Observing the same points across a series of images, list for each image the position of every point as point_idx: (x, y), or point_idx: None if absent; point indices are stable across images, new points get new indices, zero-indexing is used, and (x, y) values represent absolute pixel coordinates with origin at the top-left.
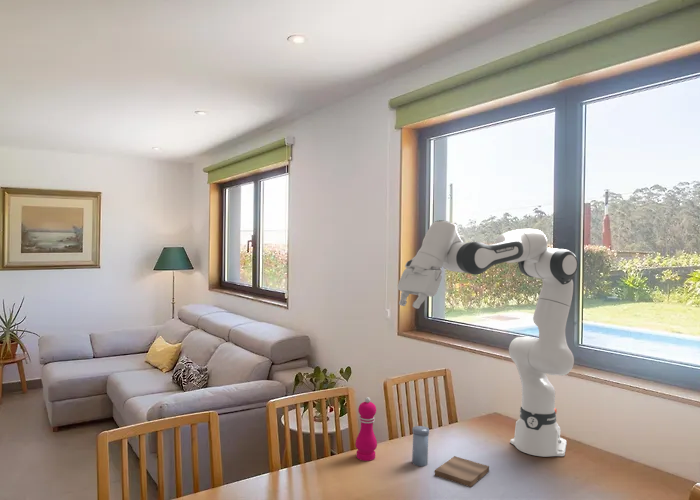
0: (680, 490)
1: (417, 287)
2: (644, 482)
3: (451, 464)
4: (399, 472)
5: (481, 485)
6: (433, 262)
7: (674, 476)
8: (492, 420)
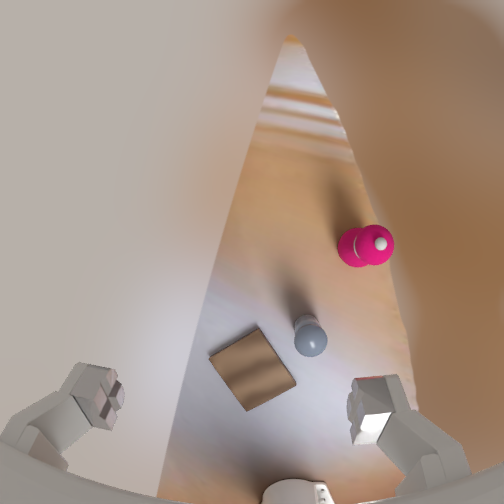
0: None
1: (20, 490)
2: None
3: (269, 364)
4: (284, 279)
5: (211, 373)
6: None
7: None
8: None
